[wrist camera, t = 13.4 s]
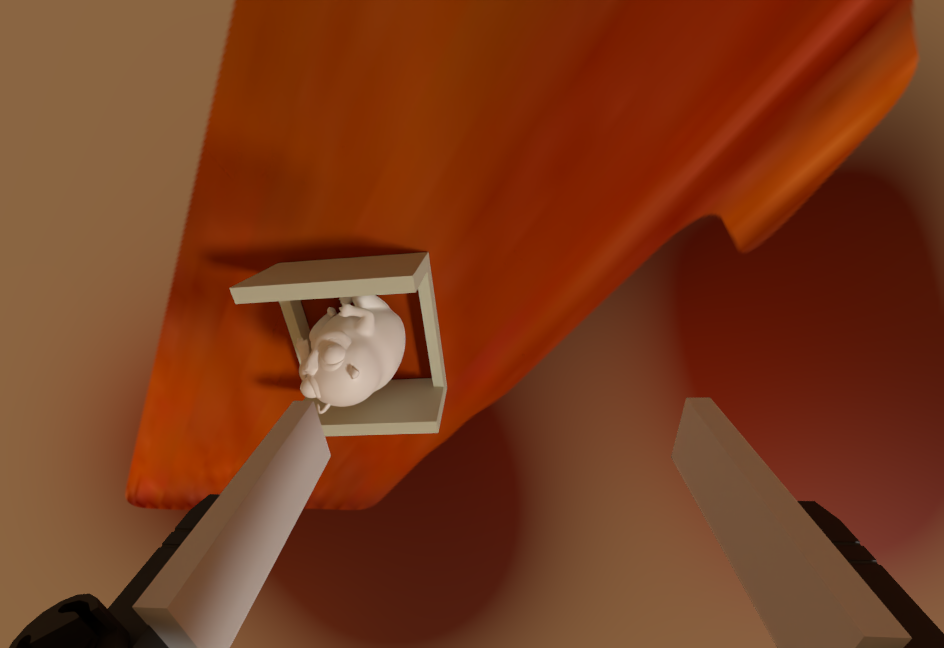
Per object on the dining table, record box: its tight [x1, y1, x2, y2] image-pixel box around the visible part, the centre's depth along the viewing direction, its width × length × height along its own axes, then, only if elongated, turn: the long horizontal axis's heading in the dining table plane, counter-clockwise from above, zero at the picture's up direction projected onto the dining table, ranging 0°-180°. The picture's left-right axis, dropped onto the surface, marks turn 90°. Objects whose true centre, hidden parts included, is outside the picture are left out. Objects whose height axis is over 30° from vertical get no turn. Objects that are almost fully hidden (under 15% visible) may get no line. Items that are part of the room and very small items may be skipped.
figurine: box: [296, 295, 405, 414], centre depth 36 cm, size 10×10×12 cm
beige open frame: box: [229, 252, 447, 436], centre depth 38 cm, size 17×16×8 cm
